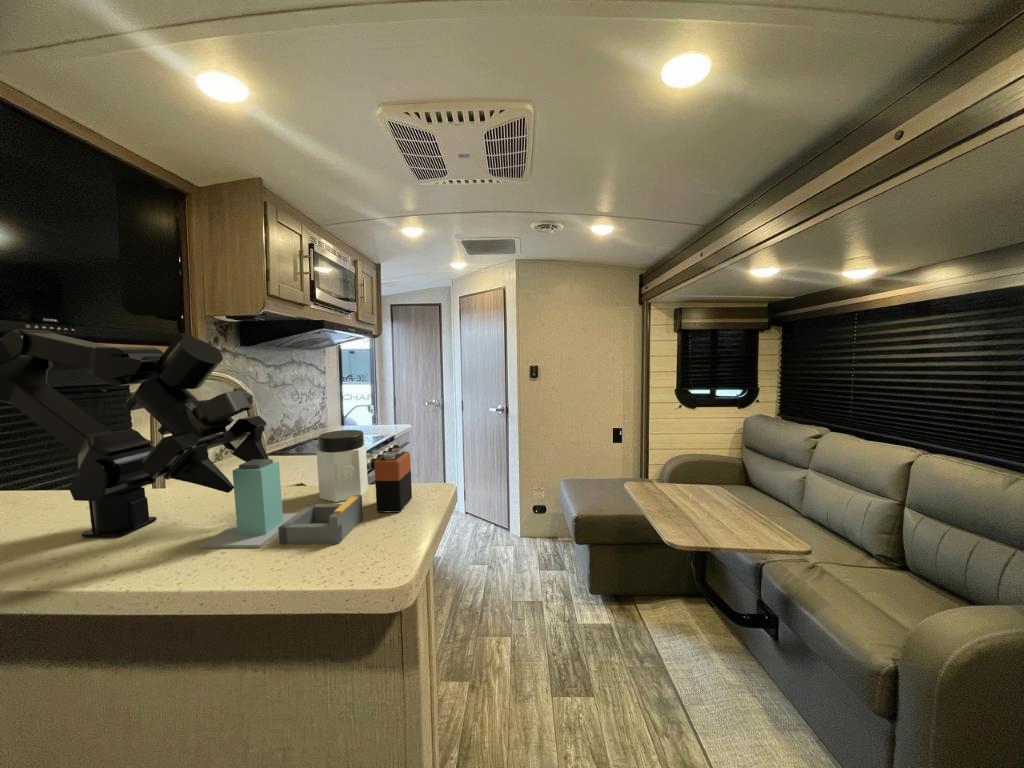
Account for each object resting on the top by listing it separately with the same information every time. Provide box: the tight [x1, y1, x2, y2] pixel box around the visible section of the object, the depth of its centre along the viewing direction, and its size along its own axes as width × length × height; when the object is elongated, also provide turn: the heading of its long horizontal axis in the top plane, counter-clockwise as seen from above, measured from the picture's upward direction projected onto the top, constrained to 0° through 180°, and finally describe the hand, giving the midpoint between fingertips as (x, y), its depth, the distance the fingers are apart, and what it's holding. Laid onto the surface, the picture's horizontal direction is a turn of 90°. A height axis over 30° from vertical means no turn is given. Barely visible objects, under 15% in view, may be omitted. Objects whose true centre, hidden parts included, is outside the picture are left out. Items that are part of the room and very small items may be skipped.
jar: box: [316, 429, 369, 503], centre depth 79 cm, size 9×8×12 cm
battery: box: [373, 447, 413, 512], centre depth 73 cm, size 4×7×10 cm, turn 176°
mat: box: [199, 513, 297, 549], centre depth 64 cm, size 9×11×1 cm
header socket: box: [278, 495, 364, 545], centre depth 63 cm, size 9×9×4 cm
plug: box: [232, 458, 284, 535], centre depth 63 cm, size 4×4×11 cm
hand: (252, 480), depth 63 cm, fingers open, 9 cm apart
